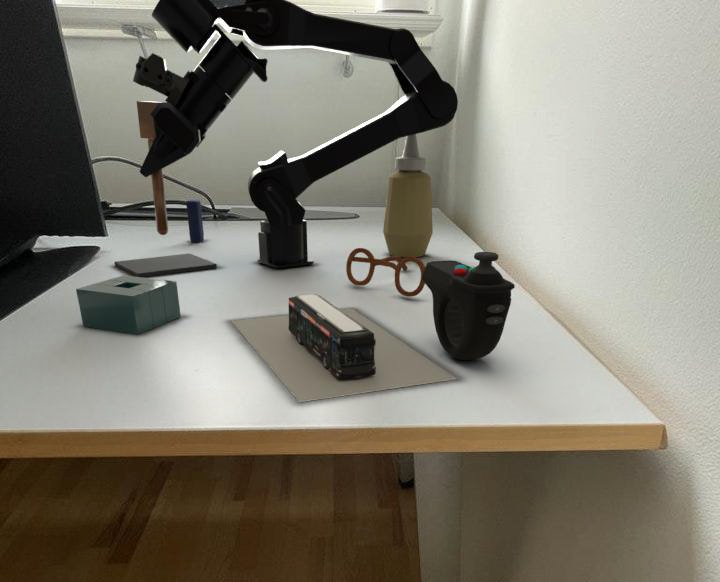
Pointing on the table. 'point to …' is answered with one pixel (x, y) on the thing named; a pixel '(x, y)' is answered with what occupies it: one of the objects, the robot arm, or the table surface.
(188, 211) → the eraser
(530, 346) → the table surface
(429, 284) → the controller
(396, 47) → the robot arm
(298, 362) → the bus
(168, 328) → the table surface
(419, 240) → the squeeze bottle
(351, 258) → the glasses
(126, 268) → the mat
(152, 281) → the holder
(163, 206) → the brown rod with block
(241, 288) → the table surface
